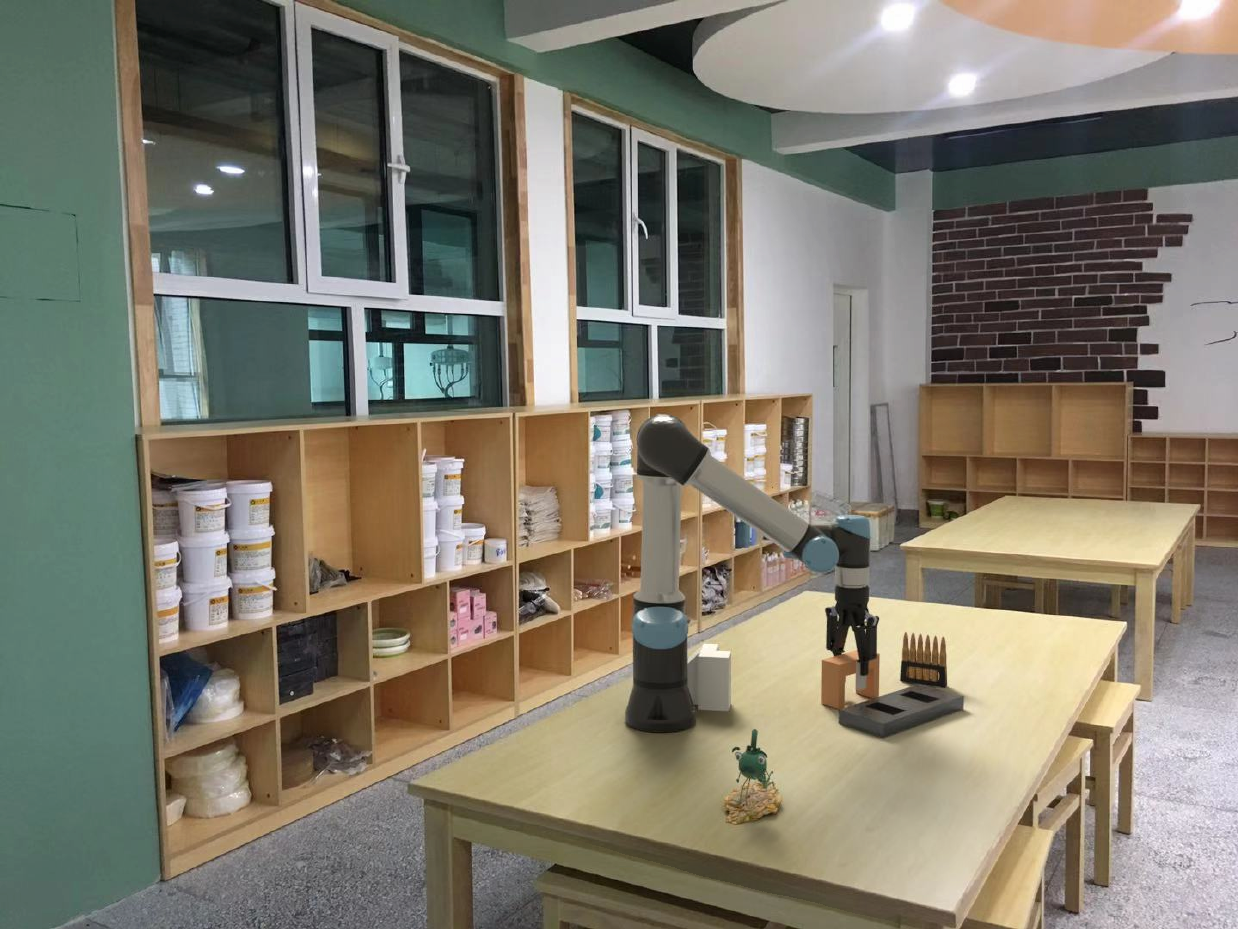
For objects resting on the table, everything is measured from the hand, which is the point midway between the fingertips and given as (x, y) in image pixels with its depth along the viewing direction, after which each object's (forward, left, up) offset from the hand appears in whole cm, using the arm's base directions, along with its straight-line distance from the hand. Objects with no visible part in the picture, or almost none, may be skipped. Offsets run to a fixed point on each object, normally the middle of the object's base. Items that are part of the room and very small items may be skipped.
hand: (850, 685), depth 235 cm
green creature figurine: (-57, -26, -4) cm, 63 cm away
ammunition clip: (+23, -3, -4) cm, 24 cm away
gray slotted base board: (0, -14, -3) cm, 14 cm away
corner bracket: (-26, +20, -4) cm, 33 cm away
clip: (0, 0, -3) cm, 3 cm away
